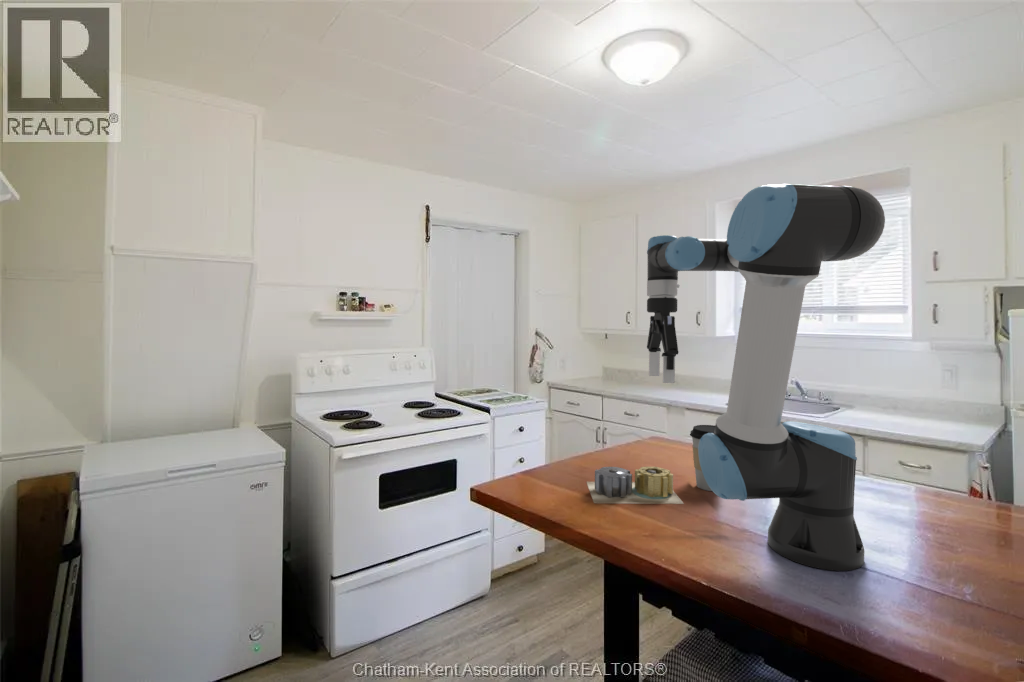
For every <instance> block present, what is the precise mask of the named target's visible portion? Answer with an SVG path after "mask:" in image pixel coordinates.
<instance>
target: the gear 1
mask: <svg viewBox="0 0 1024 682" xmlns="http://www.w3.org/2000/svg"><path fill="white" fill-rule="evenodd" d="M610 469H616V470H618V472H615V473H613V472H609V470H610ZM594 482H595V489H596V492H597V493H598V494H602V495H605V496H607V497H626V495H627V494H631V493H632V482H633V474H632V473H631V470H629V469H625V468H623V467H619V466H603V467H600V468H599V469H597V468H596V469H595V470H594Z"/></svg>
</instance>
